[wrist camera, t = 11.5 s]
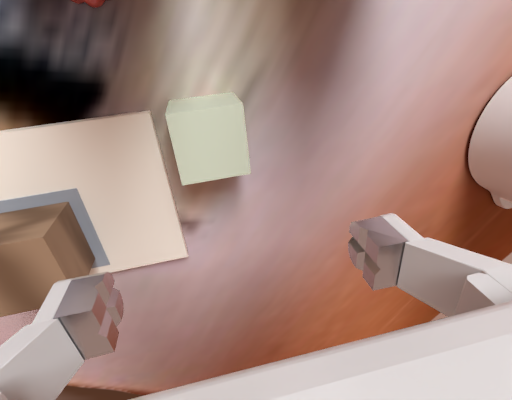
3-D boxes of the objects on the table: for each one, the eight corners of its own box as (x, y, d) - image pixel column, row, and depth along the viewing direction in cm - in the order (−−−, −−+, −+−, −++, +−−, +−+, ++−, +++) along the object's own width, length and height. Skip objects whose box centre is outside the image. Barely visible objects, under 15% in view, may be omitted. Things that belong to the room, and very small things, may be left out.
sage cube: (232, 91, 24) (243, 103, 19) (240, 151, 26) (250, 173, 22) (168, 100, 23) (165, 114, 19) (182, 160, 25) (182, 185, 21)
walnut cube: (68, 201, 24) (43, 237, 20) (95, 258, 27) (78, 300, 23) (-13, 215, 23) (-58, 255, 19) (24, 272, 26) (-8, 318, 22)
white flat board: (150, 109, 23) (149, 112, 22) (188, 251, 30) (188, 257, 29) (-117, 146, 21) (-128, 151, 20) (-9, 291, 27) (-14, 298, 27)
